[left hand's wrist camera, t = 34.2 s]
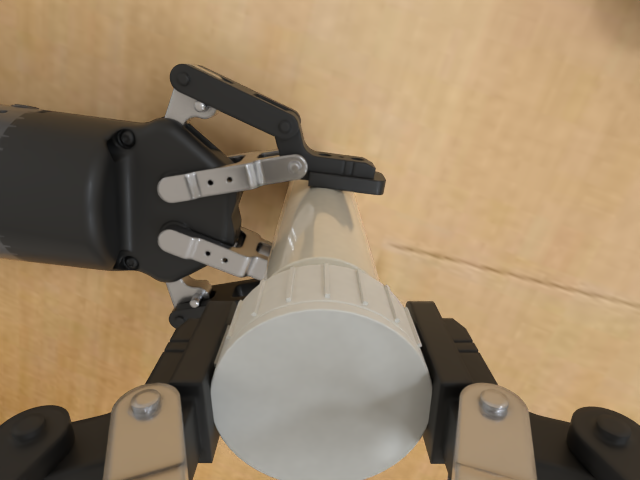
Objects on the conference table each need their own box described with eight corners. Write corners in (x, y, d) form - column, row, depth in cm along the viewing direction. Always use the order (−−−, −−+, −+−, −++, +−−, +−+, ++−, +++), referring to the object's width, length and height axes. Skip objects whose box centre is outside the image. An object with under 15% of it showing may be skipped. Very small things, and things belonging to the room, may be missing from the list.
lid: (435, 274, 11) (463, 321, 9) (395, 429, 13) (410, 498, 10) (232, 249, 10) (211, 292, 8) (222, 411, 12) (202, 478, 10)
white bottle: (279, 205, 28) (222, 390, 12) (303, 147, 27) (276, 265, 10) (336, 229, 29) (358, 434, 12) (362, 173, 28) (426, 322, 11)
